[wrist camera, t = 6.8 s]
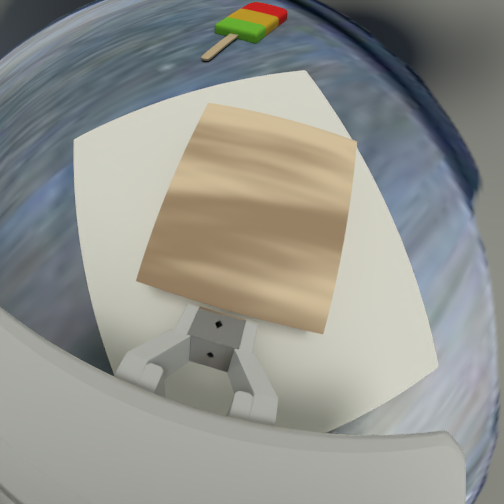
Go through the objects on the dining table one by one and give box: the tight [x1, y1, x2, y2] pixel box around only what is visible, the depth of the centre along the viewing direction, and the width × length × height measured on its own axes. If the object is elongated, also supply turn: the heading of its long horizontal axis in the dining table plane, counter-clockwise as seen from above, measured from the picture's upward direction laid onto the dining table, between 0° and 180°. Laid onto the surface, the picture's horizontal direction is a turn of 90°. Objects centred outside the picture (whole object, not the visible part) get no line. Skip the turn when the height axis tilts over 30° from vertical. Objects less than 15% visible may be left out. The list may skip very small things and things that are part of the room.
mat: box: [74, 70, 438, 433], centre depth 17 cm, size 28×22×1 cm
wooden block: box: [136, 103, 357, 334], centre depth 16 cm, size 3×10×12 cm
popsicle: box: [201, 2, 287, 61], centre depth 23 cm, size 6×15×2 cm, turn 151°
